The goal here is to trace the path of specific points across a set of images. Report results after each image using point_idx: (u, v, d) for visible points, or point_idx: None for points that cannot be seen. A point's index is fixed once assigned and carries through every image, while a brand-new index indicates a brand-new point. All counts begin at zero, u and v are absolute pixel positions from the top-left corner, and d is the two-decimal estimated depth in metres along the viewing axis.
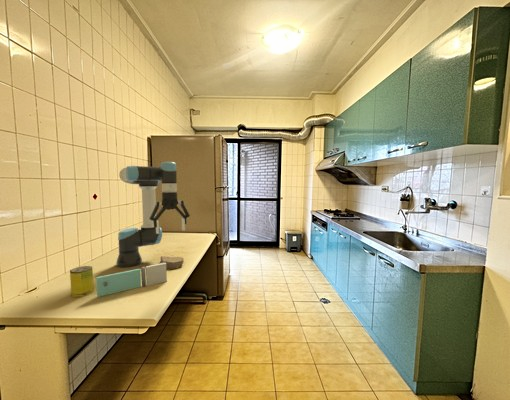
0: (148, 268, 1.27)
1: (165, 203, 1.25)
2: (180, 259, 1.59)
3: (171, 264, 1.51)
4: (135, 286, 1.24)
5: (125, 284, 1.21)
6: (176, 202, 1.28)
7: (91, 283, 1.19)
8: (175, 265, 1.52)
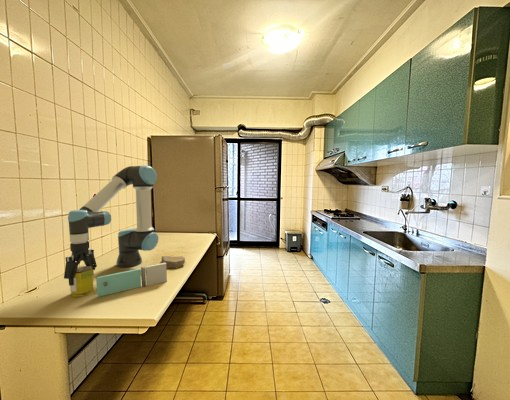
0: (148, 268, 1.27)
1: None
2: (182, 259, 1.60)
3: (173, 264, 1.52)
4: (135, 286, 1.24)
5: (125, 284, 1.21)
6: None
7: (91, 283, 1.19)
8: (177, 264, 1.53)
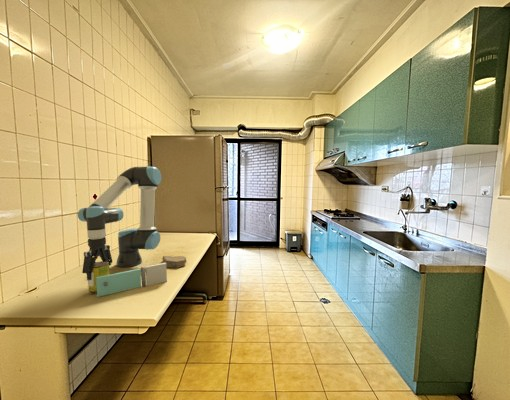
0: (148, 268, 1.27)
1: None
2: (183, 258, 1.61)
3: (175, 263, 1.53)
4: (135, 286, 1.24)
5: (125, 284, 1.21)
6: None
7: None
8: (179, 264, 1.54)
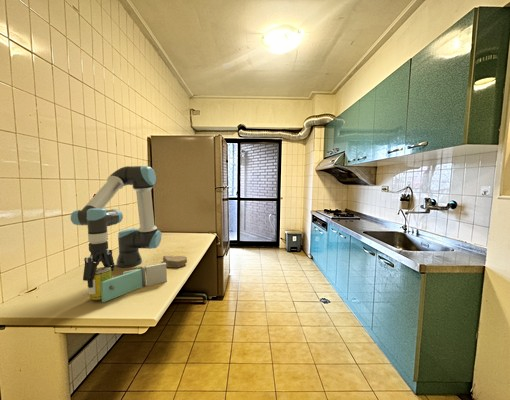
0: (148, 268, 1.27)
1: None
2: (184, 258, 1.61)
3: (176, 263, 1.54)
4: (137, 287, 1.23)
5: (128, 286, 1.19)
6: None
7: None
8: (180, 264, 1.55)
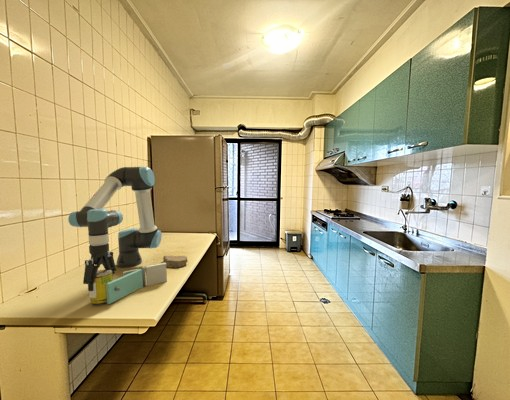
0: (148, 268, 1.27)
1: None
2: (184, 258, 1.61)
3: (176, 263, 1.54)
4: (138, 287, 1.23)
5: (131, 286, 1.18)
6: None
7: None
8: (180, 264, 1.55)
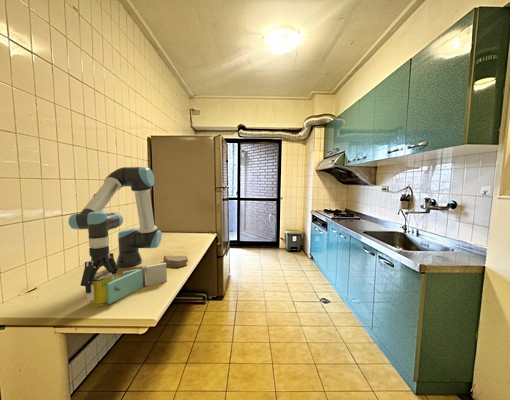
0: (148, 268, 1.27)
1: None
2: (184, 257, 1.62)
3: (177, 263, 1.54)
4: (138, 287, 1.23)
5: (131, 286, 1.18)
6: None
7: None
8: (181, 263, 1.55)
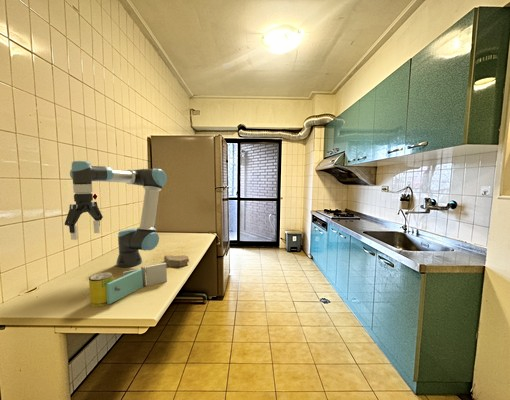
0: (148, 268, 1.27)
1: None
2: (185, 257, 1.62)
3: (178, 262, 1.55)
4: (138, 287, 1.23)
5: (131, 286, 1.18)
6: None
7: None
8: (182, 263, 1.56)
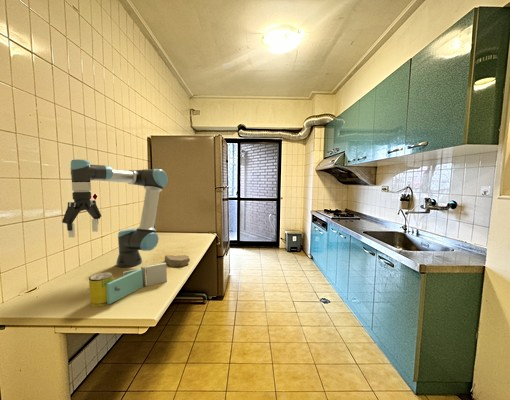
0: (148, 268, 1.27)
1: None
2: (186, 257, 1.63)
3: (179, 262, 1.55)
4: (138, 287, 1.23)
5: (131, 286, 1.18)
6: None
7: None
8: (183, 263, 1.57)
